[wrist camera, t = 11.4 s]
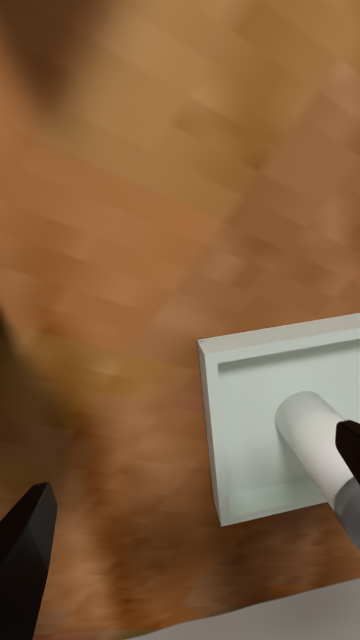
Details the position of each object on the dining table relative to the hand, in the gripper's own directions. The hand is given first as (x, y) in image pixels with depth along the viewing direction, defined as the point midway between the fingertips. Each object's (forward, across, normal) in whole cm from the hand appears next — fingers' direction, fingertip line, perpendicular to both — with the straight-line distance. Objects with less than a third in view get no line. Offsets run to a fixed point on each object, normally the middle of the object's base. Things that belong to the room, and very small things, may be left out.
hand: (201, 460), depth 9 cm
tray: (+12, -10, +9) cm, 18 cm away
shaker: (+11, -10, +9) cm, 18 cm away
